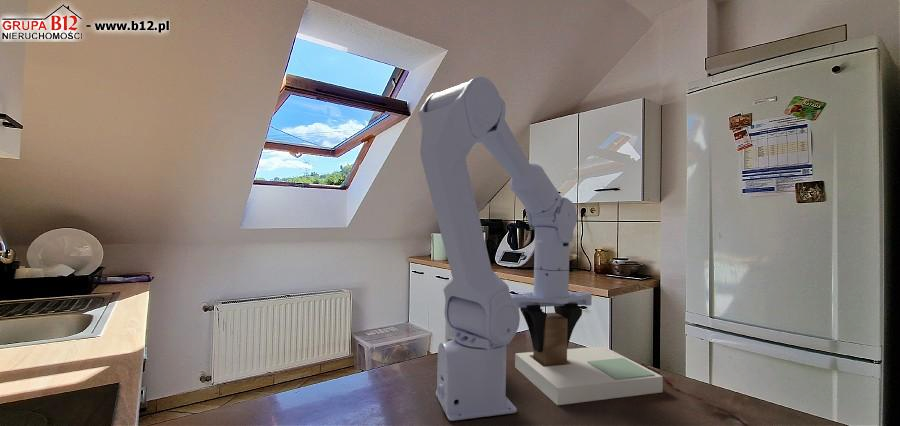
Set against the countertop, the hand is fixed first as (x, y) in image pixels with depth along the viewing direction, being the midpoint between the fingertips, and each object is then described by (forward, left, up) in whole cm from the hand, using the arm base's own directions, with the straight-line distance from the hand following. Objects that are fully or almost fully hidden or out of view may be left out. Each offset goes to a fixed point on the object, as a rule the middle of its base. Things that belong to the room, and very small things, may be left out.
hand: (549, 349), depth 65 cm
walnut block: (0, 0, -3) cm, 3 cm away
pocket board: (+5, -3, -4) cm, 7 cm away
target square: (+9, -6, -2) cm, 11 cm away
